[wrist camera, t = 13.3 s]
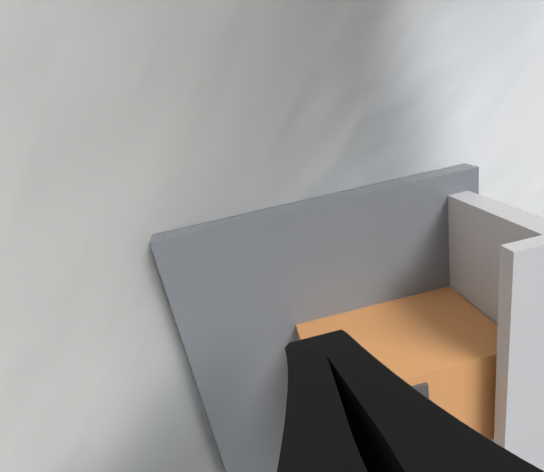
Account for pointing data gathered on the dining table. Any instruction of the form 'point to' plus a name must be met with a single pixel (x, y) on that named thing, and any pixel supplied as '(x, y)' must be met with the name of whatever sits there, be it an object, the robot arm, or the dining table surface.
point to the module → (429, 349)
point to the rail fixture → (352, 295)
